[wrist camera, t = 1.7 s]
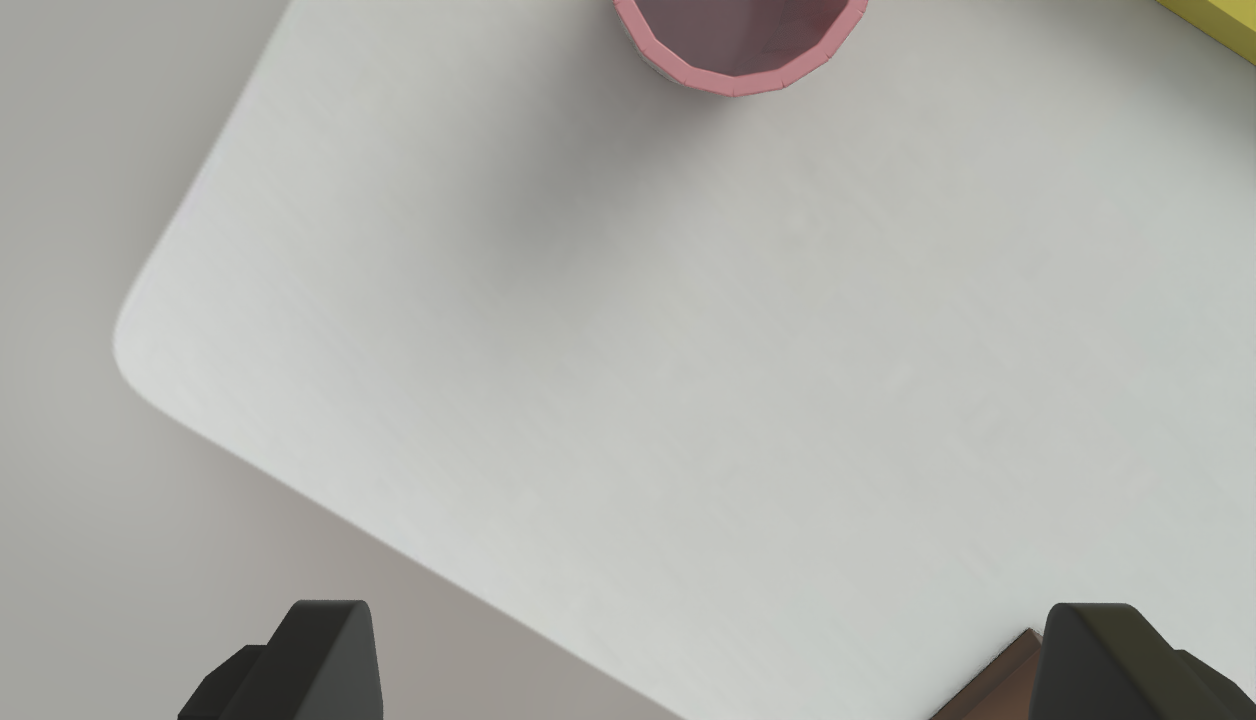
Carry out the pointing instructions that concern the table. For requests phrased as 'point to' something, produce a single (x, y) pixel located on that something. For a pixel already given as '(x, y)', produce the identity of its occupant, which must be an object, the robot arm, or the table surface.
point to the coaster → (1000, 685)
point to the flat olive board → (1222, 21)
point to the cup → (737, 40)
